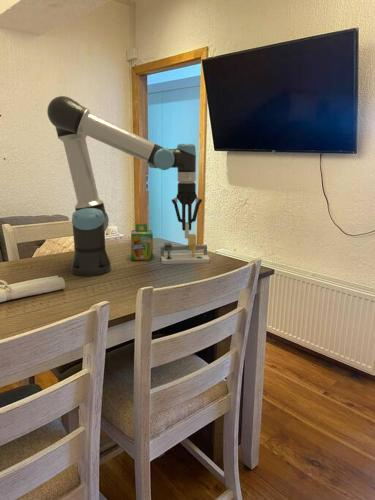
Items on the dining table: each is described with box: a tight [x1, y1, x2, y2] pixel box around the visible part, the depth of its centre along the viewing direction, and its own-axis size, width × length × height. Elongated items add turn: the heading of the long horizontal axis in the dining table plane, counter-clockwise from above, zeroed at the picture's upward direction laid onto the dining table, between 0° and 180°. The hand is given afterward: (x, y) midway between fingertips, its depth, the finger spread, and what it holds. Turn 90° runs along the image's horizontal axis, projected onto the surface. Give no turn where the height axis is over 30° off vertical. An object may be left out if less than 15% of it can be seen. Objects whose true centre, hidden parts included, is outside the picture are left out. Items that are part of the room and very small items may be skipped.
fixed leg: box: [163, 242, 173, 259], centre depth 163 cm, size 3×8×5 cm, turn 7°
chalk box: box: [130, 223, 154, 261], centre depth 166 cm, size 9×9×15 cm
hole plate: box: [160, 244, 211, 265], centre depth 163 cm, size 20×10×6 cm, turn 97°
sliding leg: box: [187, 233, 197, 257], centre depth 164 cm, size 3×8×8 cm, turn 7°
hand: (186, 237), depth 164 cm, fingers closed
